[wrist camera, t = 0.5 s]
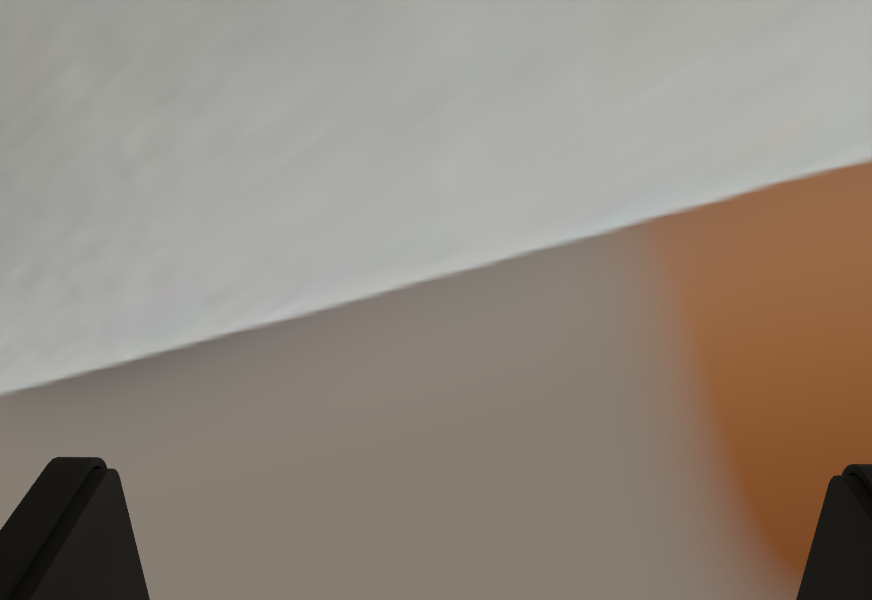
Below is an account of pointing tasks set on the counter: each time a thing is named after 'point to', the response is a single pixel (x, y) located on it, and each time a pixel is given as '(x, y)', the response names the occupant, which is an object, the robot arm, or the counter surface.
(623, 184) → the counter surface
